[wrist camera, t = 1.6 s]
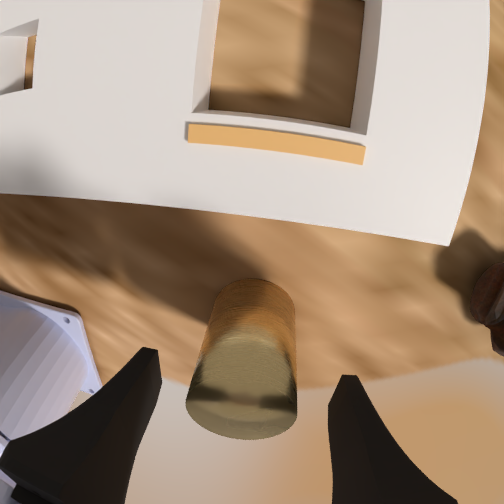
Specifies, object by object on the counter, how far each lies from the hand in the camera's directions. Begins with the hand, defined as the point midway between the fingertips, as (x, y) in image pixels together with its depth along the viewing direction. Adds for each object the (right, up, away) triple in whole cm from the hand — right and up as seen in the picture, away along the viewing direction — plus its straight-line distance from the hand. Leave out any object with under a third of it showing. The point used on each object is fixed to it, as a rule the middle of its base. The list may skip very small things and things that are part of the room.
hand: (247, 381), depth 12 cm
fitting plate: (-3, +13, -2) cm, 14 cm away
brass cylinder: (0, +2, +4) cm, 5 cm away
